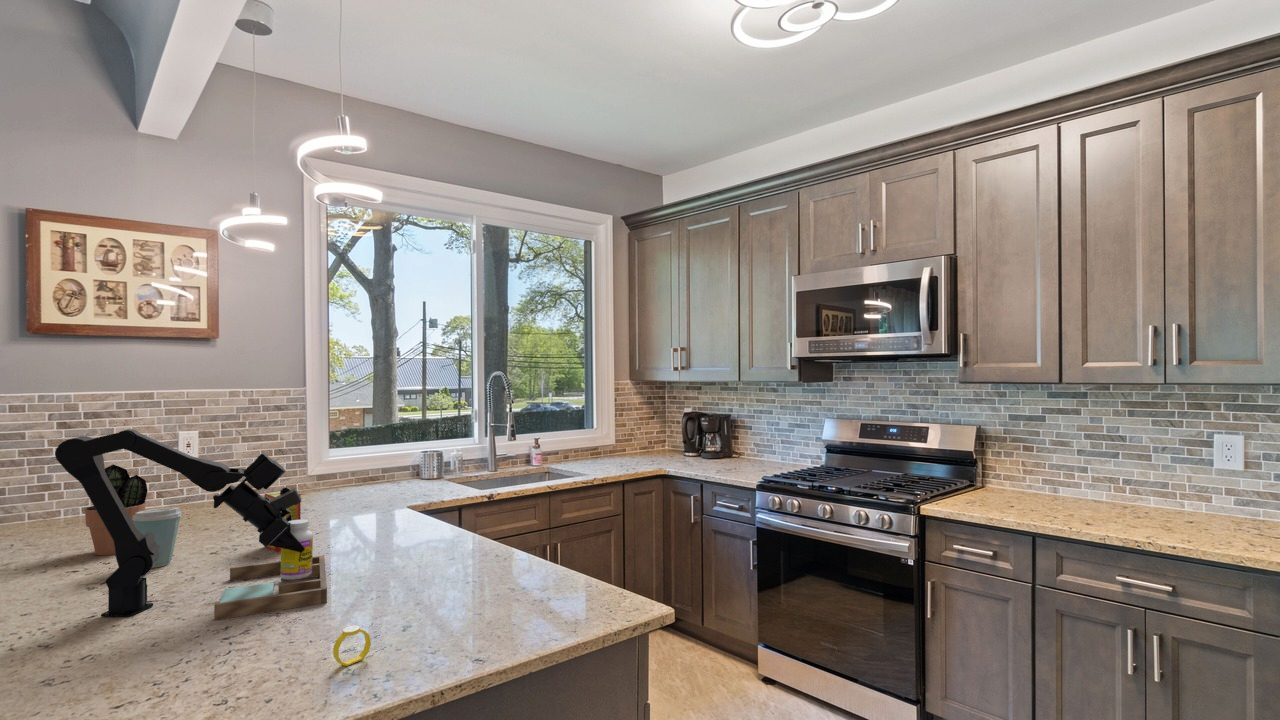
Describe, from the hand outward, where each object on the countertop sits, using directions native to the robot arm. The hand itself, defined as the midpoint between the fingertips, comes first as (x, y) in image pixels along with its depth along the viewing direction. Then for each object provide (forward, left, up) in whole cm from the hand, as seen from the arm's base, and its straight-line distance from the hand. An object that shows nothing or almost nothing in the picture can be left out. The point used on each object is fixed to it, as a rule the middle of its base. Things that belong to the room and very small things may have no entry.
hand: (303, 547), depth 152 cm
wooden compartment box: (-3, +6, -9) cm, 11 cm away
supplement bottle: (-1, +1, -7) cm, 7 cm away
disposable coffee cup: (+18, +49, -9) cm, 54 cm away
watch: (-41, -31, -9) cm, 52 cm away
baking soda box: (+35, +25, -9) cm, 45 cm away
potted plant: (+32, +72, -9) cm, 80 cm away
